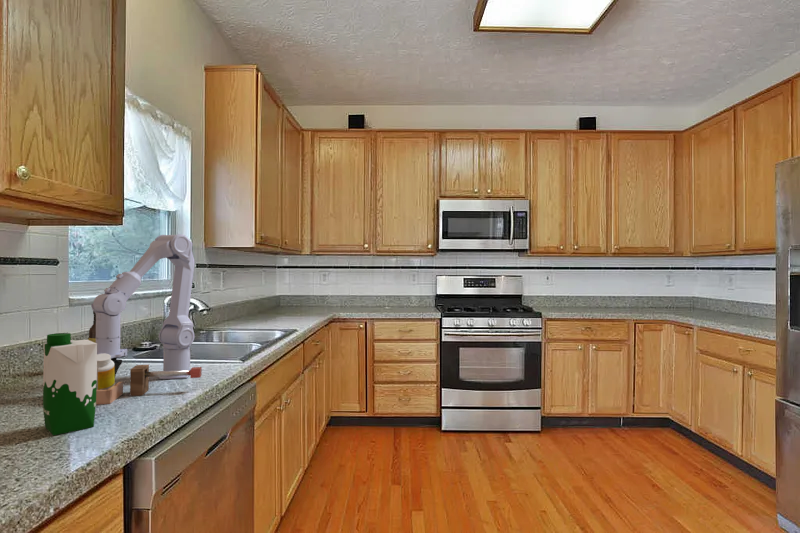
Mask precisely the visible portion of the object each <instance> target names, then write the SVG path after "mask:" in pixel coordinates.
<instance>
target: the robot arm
mask: <svg viewBox="0 0 800 533" xmlns="http://www.w3.org/2000/svg"><path fill="white" fill-rule="evenodd" d="M193 244H194V243H193V242H192V241H191V240H190V239H189V238H188V236H186V235H185V234H182V233H177V234H160V235H158V236H157V237H156V238H155V239H154V240H153V241H151V242H150V244H149V247H148V249H146V250H145V252H144V253H143V255H141V257H140V258H138V259H139V260H138V261H137V262H136V263H135V264H134V265H133V267H132V268H131V269H130V270H129V271H123V272H122V273H118V274H116V276H115V278H116V279H115V280H113V282H112V283H111V284H110V286H108V287H106V288H105V289H103V290H104V293H100V294H98V295H96V297H95V298H94V299H93V303H91V304H90V306H91V310H92V312H93V311H94V312H95V313H96V343H97V354H102V353H106V354H109V355H110V356H111V360H112V361H113V362H114V367H115V377H116V375H117V372H118V370H119V368H120V366H121V365H122V364H123V359H119V358H122V357H126V356H128V348H121V327H122V326H121V325H122V324H121V322H122V321H121V320H122V318H121V317H122V316H121V315H122V313H123V311H125V310H126V307H127V301H128V300H129V299H130V297H131V296H132V295H133V294H134V293H135V292H136V291H137V290H138V289H139V288H140V287H141V285H142V277H143V276H145V275H146V274H147V273H148V271H149V272H150V270H151V269H152V268H153V266H155V265H156V264H157V263H158V262H159V261H160V260H162V259H168V260H169V262H171V263H172V264H173V266H174V273H173V281H172V287H171V288H172V289H171V298H170V305H169V311H168V312H169V313H168V316H167V317H166V318H165V319H164V320H163V322H162V327H161V328H160V331H159V333H158V340H159V342H160V343H161V344H162V348H163V359H162V360H163V368H162V369H163V370H162V371H180V370H191V350H190V348H191V346H192V344H193V342H194V340H195V338H196V336H195V332H194V331H195V330H194V323H193V321H192V320H191V319H190V318H189V312H190V306H191V305H190V304H191V298H192V288H193V280H194V271H195V261H196V260H195V257H194V252H193ZM189 377H190V375H185V376H159V377H158V379H159V380H169V379H187V378H189Z"/></svg>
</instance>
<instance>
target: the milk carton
mask: <svg viewBox="0 0 800 533" xmlns="http://www.w3.org/2000/svg"><path fill="white" fill-rule="evenodd" d="M71 335H72V334H71V333H70V332H60V333H59V332H58V333H57V332H56V333H48V334H46V342H44V343H43V368H42V369H43V371H42V372H43V376H42V377H43V379H42V380H43V381H42V384H43V387H42V410H43V420H44V427H45V428H46V430H47V431H48V432H49V433H50V434H51V435H52V436H57V435H62V434H66V433H72V432H76V431H80V430H81V431H82V430H85V429H91V428H94V427H95V426H94V425H95V417H96V408H97V404H96V390H97V343H94V342H92V341H89V340H88V339H77V340H74V339H72V338H71V337H72V336H71Z"/></svg>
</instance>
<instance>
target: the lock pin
mask: <svg viewBox="0 0 800 533" xmlns="http://www.w3.org/2000/svg"><path fill="white" fill-rule="evenodd" d="M202 371H203V370H202V366H197V367H196V366H193V367H190V370H180V371H163V370H158V371H157V370H156V371H155V370H153V371H149V372H145V377H149V378H153V377H155V378H156V377H158V378H159V377H160V376H185V375H189V377H190V379H196V378H197V379H199V378H201V377H202V373H203V372H202Z"/></svg>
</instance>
